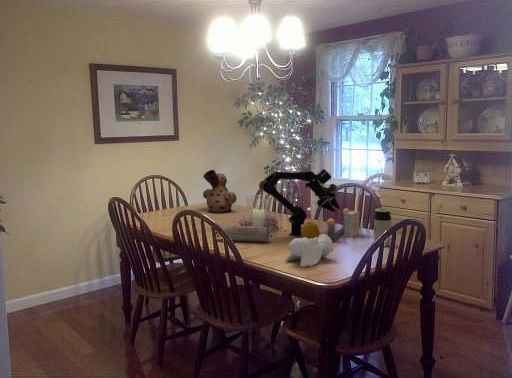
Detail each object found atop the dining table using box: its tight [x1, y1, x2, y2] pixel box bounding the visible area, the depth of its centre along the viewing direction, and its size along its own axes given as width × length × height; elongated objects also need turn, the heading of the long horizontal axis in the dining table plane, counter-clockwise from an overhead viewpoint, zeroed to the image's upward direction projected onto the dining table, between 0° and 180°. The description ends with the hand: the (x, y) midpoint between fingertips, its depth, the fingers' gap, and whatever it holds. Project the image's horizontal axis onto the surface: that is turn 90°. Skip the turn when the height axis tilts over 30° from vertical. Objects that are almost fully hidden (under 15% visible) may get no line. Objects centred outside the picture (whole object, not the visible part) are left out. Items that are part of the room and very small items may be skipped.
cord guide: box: [326, 207, 351, 243], centre depth 266 cm, size 34×4×12 cm, turn 154°
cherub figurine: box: [284, 233, 335, 268], centre depth 219 cm, size 13×12×20 cm
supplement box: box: [344, 210, 360, 238], centre depth 263 cm, size 8×5×13 cm, turn 141°
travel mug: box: [373, 207, 392, 247], centre depth 243 cm, size 8×8×18 cm
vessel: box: [202, 169, 238, 214], centre depth 337 cm, size 29×22×30 cm
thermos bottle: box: [215, 225, 270, 243], centre depth 258 cm, size 8×8×28 cm
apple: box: [300, 221, 321, 240], centre depth 248 cm, size 10×10×12 cm
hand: (337, 210), depth 266 cm, fingers open, 9 cm apart
